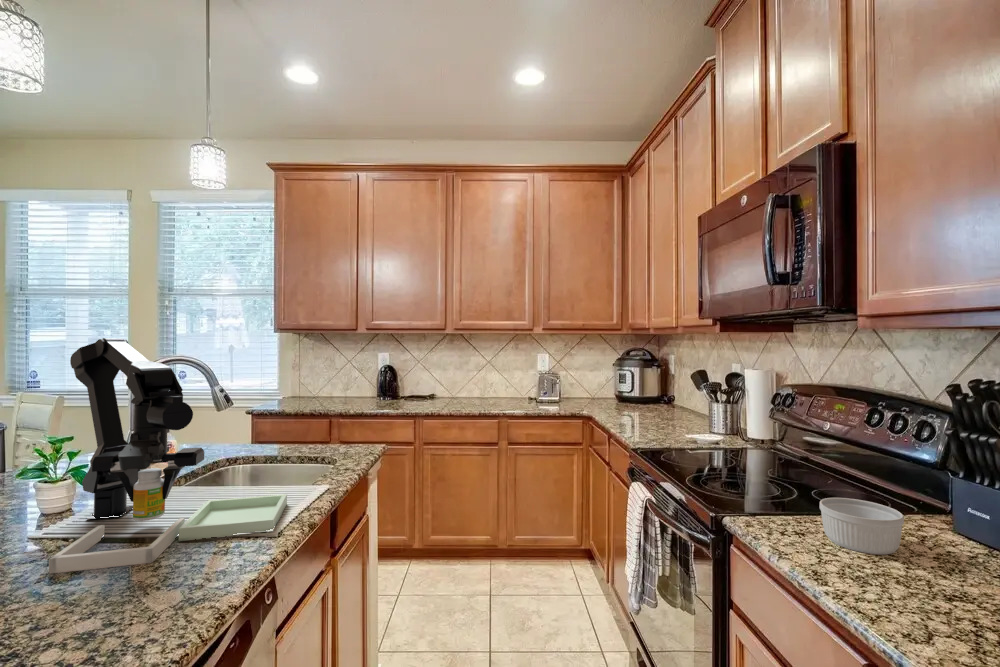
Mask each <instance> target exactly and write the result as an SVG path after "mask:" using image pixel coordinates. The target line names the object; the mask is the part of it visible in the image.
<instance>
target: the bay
mask: <svg viewBox="0 0 1000 667" xmlns="http://www.w3.org/2000/svg"><path fill="white" fill-rule="evenodd" d="M185 522H186V521H185V517H183V518H182V517H181V518H180V517H179V518H178V519H176V521H174V523H172V524H171V525H170V526H169V527H168V528H167V529H166V530H165V531H164V532H163V533H162V534H160V535H159V536H158V537H157V538H156V539H155V540H154V541H153V542H151V544H150V545H149V546H144V547H143V546H142V547H134V548H133V547H132V548H123V549H122V548H121V549H113V550H103V551H91V552H86V551H88V550H90V549H91V548H92V547H94V546H95V545H96V544H97V543H99V542H100V541H102V540H101V537H102V536H103V535H104V536H105V528H106V527H105V524H100V525H99V524H98V525H97V526H95V527H94V528H92V529H91V530H90V531H88V532H87V533H85V534H84V535H82V536H81V537H80V538H78V539H76V540H75V541H73V542H72V543H70V544H68V546H66V547H65V548H63V549H61V550H59V552H57V553H56V554H54V555H53V556H51V557H50V558H48V574H59V573H68V572H78V571H79V572H80V571H87V570H97V569H103V568H104V569H105V568H114V567H116V568H117V567H124V566H133V565H140V564H141V565H143V564H151V563H153V562H155V560H156V559H157V558H159V557H160V555H161V554H163V552H165V550H166V549H168V548H169V546H170V545H171V544H172V543H173V542H174V541H175V540H176V539H177V538H176V536H177V535H178V534H179V528H180V527H181V526H182V525H183V524H184V523H185ZM175 538H176V539H175Z"/></svg>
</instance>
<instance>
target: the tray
mask: <svg viewBox="0 0 1000 667" xmlns="http://www.w3.org/2000/svg"><path fill="white" fill-rule="evenodd" d="M287 505H288V494H287V493H285V494H274V495H273V494H272V495H271V494H270V495H261V496H259V495H258V496H247V497H246V496H245V497H235V498H234V497H233V498H222V499H210V500H206V501H205V502H204V503H203V504H202V505H201V506H200V507H199V508H198V509H196V510H195V512H194V513H193V514H192V515H191V516H190V517H189V518H188V519H187V520H186V521H185V522H184V524H183V525H182V526H181V527H180V528H179V536H178V542H183V541H184V542H185V541H194V540H195V539H196V540H203V539H202V538H206V539H212V538H211V537H217V538H226V537H225V536H227V537H232V536H231V535H233V534H237V533H244V532H255V531H266V530H270V529H273V528H274V526H275V525H276V523H277V522H278V523H279V521H280V519H281V517H282V515H283V514H284V512H285V510H286V507H287ZM278 520H279V521H278ZM278 523H277V524H278ZM276 526H277V525H276Z"/></svg>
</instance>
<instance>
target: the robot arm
mask: <svg viewBox="0 0 1000 667" xmlns="http://www.w3.org/2000/svg"><path fill="white" fill-rule="evenodd" d="M69 362H70V367H71V369H73V372H74V375H75V378H76V380H78V381H79V382H80V383H81V384H83V386H85V387H86V389H87V394H88V402H89V407H90V410H91V411H90V412H91V418H92V422H93V428H94V435H95V441H96V449H95V451H94V452H93V454H92V457H91V458H90V461H89V462H90V465H89V466H90V467H89V469H88V470H87V472H86V473H85V476H84V478H83V479H82V482H81V484H82V489H83V491H84V492H87V493H89V494H94V495H93V513H94V515H93V513H91V514H92V516H94V517H95V518H100V517H109V516H113V515H114V516H120V515H122V514H123V513H125V512H127V511H128V510H130V509H131V510H133V509H132V508H133V505H128V506H127V504H128V503H127V501H128V500H127V499H128V498H129V500H130V502H131V503H133V489H134V484H135V483H136V482H138V481H139V479H138V472H139V471H141V470H145V469H149V467H150V466H151V464H161V463H162V464H163V463H167V466H166V467H164V468H162V471H163V475H164V478H163V479H164V485H163V499H165V500H166V499H167V498H168V496H169V495H170V492H171V490H172V488H173V486H174V483H175V481H176V479H177V477H178V476H179V474H180V472H181V470H183V468H185V467H193V466H197V465H199V464H200V463H202V462H203V461H204V460H205V450H204V449H203V448H202V447H185V448H182V449H180V450H178V451H177V452H170V446H168V434H169V433H170V431H180V430H182V429H184V428H186V427H188V425H189V424H190V423H191V422H192V420H193V417H194V416H193V415H194V411H193V408H191V405H189V404H188V403H186V402H184V394H183V387H182V386H181V384H180V382H179V381H178V378H177V375H176V373H175V372H174V370H173V369H172V368H171V367H170V366H169V365H166V364H164V363H161V362H155V361H152V360H149V359H148V358H146V357H145V356H144V355H143V354H142V353H140V352H139V351H137V349H135V348H134V347H132V345H130V344H129V341H128V340H127V339H125V338H122V337H121V338H119V337H115V338H114V337H103V338H99V339H98V340H96V341H95V342H93V343H90V344H87V345H83V346H81V347H78V349H77V350H75V351H73V353H72V354H71V355H70V361H69ZM120 371H121V372H122V373H123V374H124V375H125V376H126V382H125V385H126V386H127V388H128V389H129V391H130V392H131V394H132V395H133V398H132V399H131V400H130V403H131V404H132V405H133V404H134V406H133V407H134V408H133V432H131V433H130V437H129V442H127V441H126V440H125V437H124V436H125V435H124V432H123V427H122V420H121V415H120V409H119V406H118V405H119V404H118V400H117V393H116V388H115V384H114V380H115V379H116V378H117V375H118V373H119V372H120ZM127 496H128V498H127ZM131 510H130V511H131ZM128 512H129V511H128ZM128 512H127V513H128ZM125 514H126V513H125Z"/></svg>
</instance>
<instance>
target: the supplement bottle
mask: <svg viewBox="0 0 1000 667" xmlns="http://www.w3.org/2000/svg"><path fill="white" fill-rule="evenodd" d="M162 471H163V469H162V468H160V467H159V468H157V467H152V468H145V469H140V471H139V472H138V482H136V483H135V484H134V489H133V502H132V506H133V509H132V520H134V521H137V522H145V521H150V520H151V521H152V520H155V519H159V518H161V517H162V516H164V514H165V509H166V507H165V506H166V499H163V485H164V478H162Z"/></svg>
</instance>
